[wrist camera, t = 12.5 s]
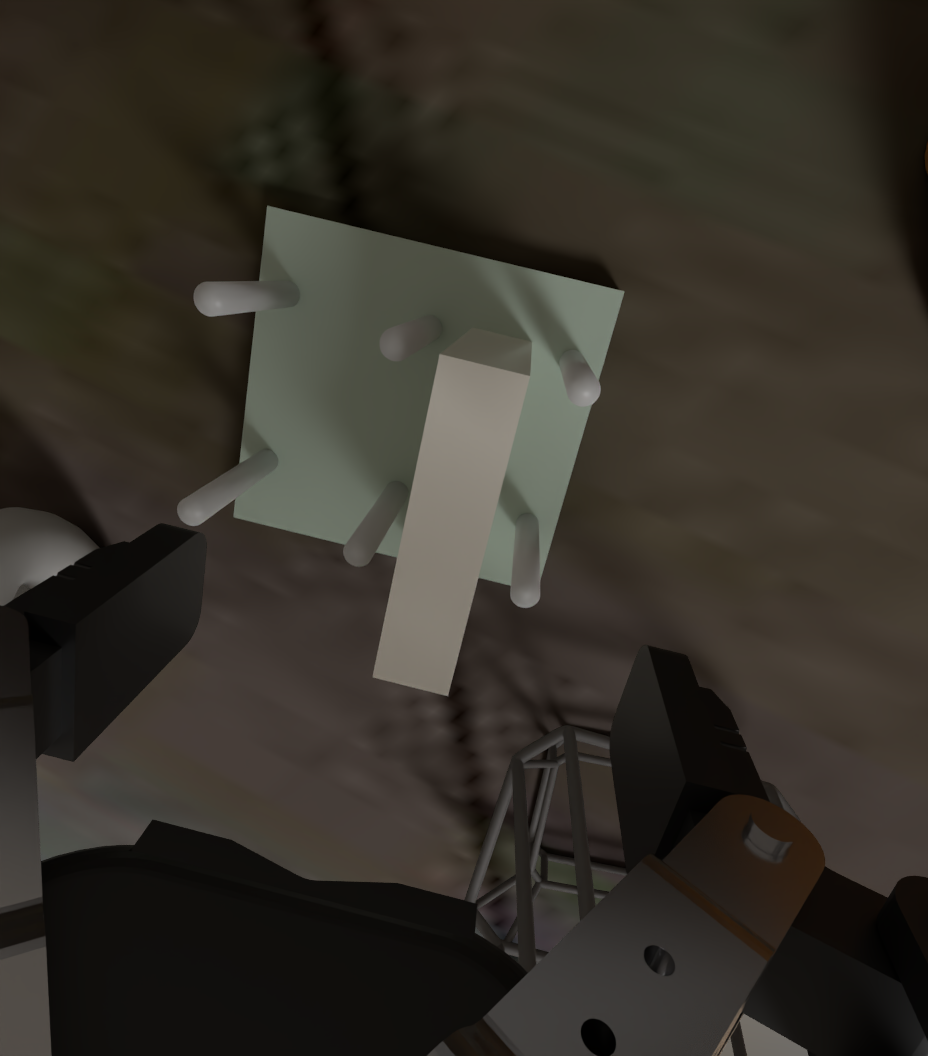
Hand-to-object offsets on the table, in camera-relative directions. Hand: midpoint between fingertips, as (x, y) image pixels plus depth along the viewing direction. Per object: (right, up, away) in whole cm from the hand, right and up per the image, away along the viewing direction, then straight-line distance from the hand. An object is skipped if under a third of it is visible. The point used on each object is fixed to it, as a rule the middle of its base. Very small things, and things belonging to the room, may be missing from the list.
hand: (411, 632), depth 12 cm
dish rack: (-1, +7, +17) cm, 19 cm away
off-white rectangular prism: (+1, +5, +16) cm, 17 cm away
